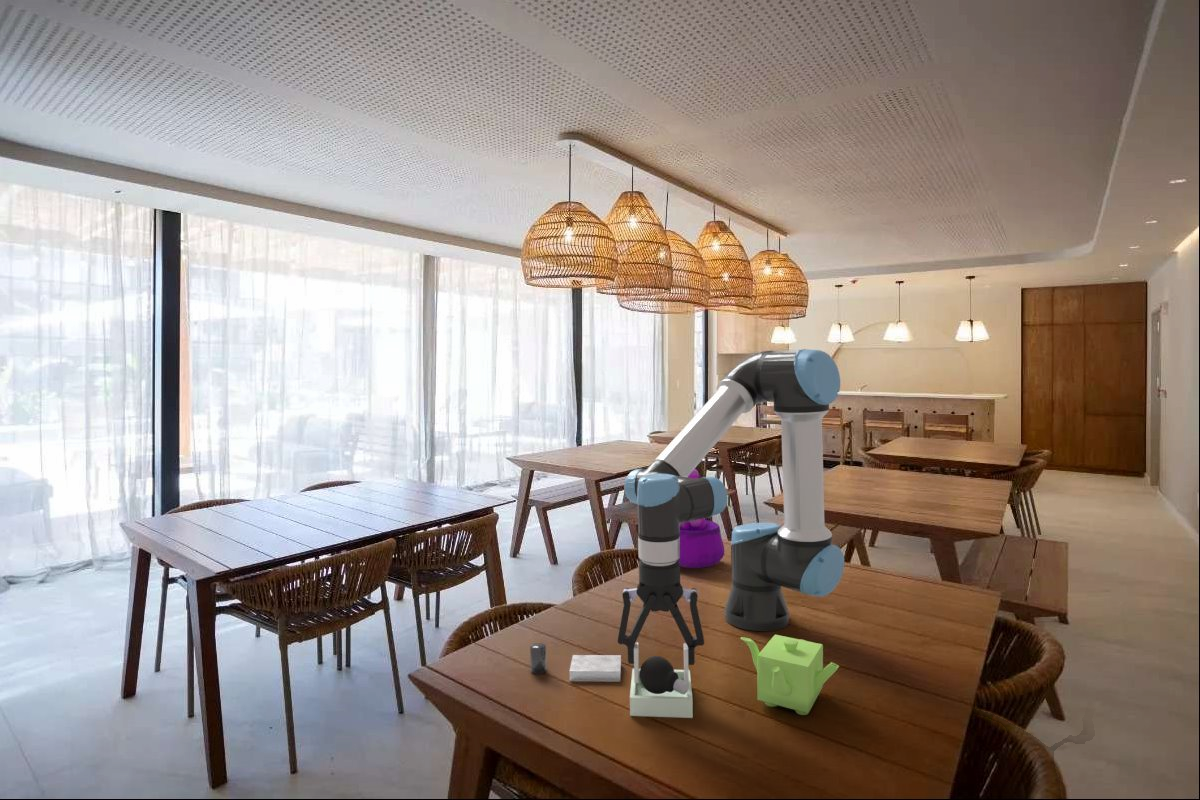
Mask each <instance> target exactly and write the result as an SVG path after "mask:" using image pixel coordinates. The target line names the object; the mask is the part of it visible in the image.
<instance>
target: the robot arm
mask: <svg viewBox="0 0 1200 800" xmlns="http://www.w3.org/2000/svg"><path fill="white" fill-rule="evenodd" d="M840 389H841V375H840V371H839V368H838V365H837V363H836V361H835V360H834V359H833V358H832V356H830V354H829V353H827V352H826V351H823V350H820V349H808V348H803V349H789V350H786V349H785V350H763V351H760V352H757V353H754V354H752V355H750V356H749V357H747V358H745V359H744V360H742V361H741V362H740V363H738V364H736V366H734V367H733V368H731V370H730V371H728V372H727V373H726V374H725V375H724V376H723V378H721V380H719V382H718V383H717V385H716V391H715V393H714V394H713V395H712V396H711V397H710V398H709V399H708V400H707V401H706V403H704V405H702V407H701V408H700V409H699V410H698V411H697V413H695V414H694V416H693V417H692V418H691V419H690V420H689V421H688V423H686V425H684V427H683V428H682V429H681V431H679V433H677V435H676V436H675V437H674V438H673V439H672V440H671V441H670V442H669V443H668V445H667V446H666V447H665V448H664V449H663V450H662V451H661V452H660V453H659V455H658V456H657V457H656V458H655V459H654V460H653V461H652V463H650V464H649V466H648V467H646V468H637V469H634V470H632V471H630V472H629V474H627V476H626V478H625V481H624V487H623V488H624V489H623V490H624V493H625V497H626V498H627V499H628V501H629V502H631V503H632V504H635V505H637V506H636V507H637V528H638V529H637V531H638V532H637V533H638V537H637V541H638V542H637V545H638V547H637V548H638V558H639V561H638V584H637V587H635V588H629V587H624V588H623V591H622V601H623V608H622V614H621V620H620V624H619V630H618V637H617V643H618V645H625V647H627V662H628V665H629V664H630V665H631V664H632V665H633V669H634V683H639V669H640V661H639V660H640V658H639V657H640V656H639V655H640V654H639V653H640V652H639V642H637V640H638V637H639V636H640V633H641V632H642V630H643V627H644V624H645V622H646V620H647V619H648V617H649V615H650V612H659V611H661V612H664V613H665V612H670V614H671V617H672V618H673V620H674V621H675V623H676V625H677V627H678V629H679V632H680V634H681V635H682V637H683V639H684V641H685V642H684V643H683V670H684V681H685V682H687V683H688V685H689V671H688V670H689V666H694V664H695V662H696V659H695V649H696V647H699V646H704V645H705V637H704V632H703V627H702V623H701V619H700V614H699V610H698V606H697V605H698V595H699V594H698V589H697V588H695V587H692V588H691V589H689V588H683V586H682V584H681V566H680V562H679V561H678V559H679V558H680V537H679V536H680V533H679V531H680V523H685V522H689V521H693V520H698V519H703V518H705V519H710V518H711V517H714V516H716V515H717V516H718V515H719V514H721V513H723V512H724V511H725V509H726V508H727V504H728V491H727V488H726V487H725V485H724V483H723V482H722V481H721V480H720V479H719V478H717V477H714V476H701V477H698V479H693V478H687V477H688V476H689V474H690V473H691V472H692V471H693V470H694V469H696V468H697V466H698V465H699V464H700V463H701V462H702V461H703V459H704V458H705V457H706V456H707V454H708V453H709V452H710V451H711V450H712V449H713V448H714V447H715V445H716V444H717V443H718V442H719V441H720V439H722V437H723V436H724V435H725V434H726V433H727V431H728V430H729V429H730V428H731V426H733V425H734V423H736V421H737V420H738V419H739V417H740V416H741V415H742V414H746V413H749V412H751V411H752V409H753V408H754V407H755V406H756V405H758V404H759V405H760V404H761V403H766V402H769V403H773V412H774V414H775V415H776V416H778V418H779V419H780V422H781V423H780V424H781V425H780V426H781V429H780V431H781V457H782V458H781V460H782V463H781V464H782V489H783V490H782V492H783V493H782V494H783V498H782V499H783V522H784V523H783V525H782V526H781V525H780V524H778V523H775V522H754V523H753V522H751V523H745V524H740V525H737V526H735V527H734V528H733V529H732V531H731V542H730V553H731V554H730V555H731V557H730V559H731V561H730V562H731V565H730V567H731V587H730V590H729V593H728V595H727V596H728V597H727V599H726V603H725V605H724V620H726V621H727V623H729V624H730V625H732V626H733V627H737V628H739V629H742V630H747V631H753V632H754V631H755V632H771V631H773V632H774V631H777V630H782V629H784V628H785V627H787V626H788V625H789V623H790V612H789V609H788V605H787V603H786V599H785V597H784V594H783V591H782V587H783V588H786V589H789V590H792V591H796V592H798V593H801V594H803V595H805V596H807V595H810V596H814V597H817V598H819V597H820V598H821V597H823V598H824V597H825V596H828V595H830V594H831V593H832V592H833V591H834V590H835V589H836V587H837V586H838V584H839V582H840V581H841V578H842V576H843V573H844V568H845V555H844V553H843V550H842V549H841V548H840V547H839V546H837V545H836V544H833V534H832V532H831V530H830V529H829V528H828V527H826V525H825V497H824V496H825V495H824V492H825V491H824V455H823V453H824V449H823V448H824V447H823V446H824V445H823V418H824V416H826V415H827V414H828V413H829V412H830V404H833V403H834V402H835V401H836V400H837V398H838V396H839V393H840ZM636 596H638V598H639V599H640V600H641V602H642V603H643V604H642V606H641V609H640V611H639V614H638V616H637V618H636V620H635V622H634V625H633V627H632V629H631V631H630V633H629V635H626V633H627V628H628V622H629V616H630V610H631V604H632V602H634V601H635V597H636ZM682 597H684V598H685V601H686V602H687V603H689V609H690V612H691V617H692V619H691V620H692V623H693V628H694V632H695V636H693V635H692V633H691V631H690V629H689V627H688V625H687V622H686V621H685V619H684V617H683V614H682V613H681V610H680V609H679V606H678V604H677V603H678V602H679V601H680V600H681V598H682Z"/></svg>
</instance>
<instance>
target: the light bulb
mask: <svg viewBox="0 0 1200 800" xmlns="http://www.w3.org/2000/svg"><path fill="white" fill-rule="evenodd" d="M639 669H640V680H641V683H642V685H643V686H644V688H645V689H646V690H647V691H649V692H651V693H654V694H662V693H665V692H666V691H667V692H672V691H673V690H674V691H677V692H679V693H681V694H686V693H687V691H688V687H689V685H688V683H687V682H685V681H683V680H680V679H679V678H678V674H677V673H675V672H674V670H675V669H674V667H673V665H672V663H671V662H670V661H669V660H668V659H666V658H665V657H663V656H657V655H654V656H651V657H648V658H646V660H644V661H643V662H642V665H641V666H640V668H639Z"/></svg>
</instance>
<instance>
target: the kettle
mask: <svg viewBox="0 0 1200 800" xmlns="http://www.w3.org/2000/svg"><path fill="white" fill-rule="evenodd" d="M740 640H741V641H743V642H744V643H745V644H746V645H747V647H748V648H749V650H750V653H751V657H752V661H753V665H754V667H755V669H756V673H757V675H756V676H757V678H756V681H757V682H756V683H757V684H756V686H757V687H756V688H757V689H756V690H757V693H756V694H757V695H756V697H757V698H756V699H757V701H761V702H764V704H765V705H766V706H767V707H772V708H774V707H778V706H779V707H782V708H786V709H790V710H794V711H795V713H796V714H798V715H800V716H806V715H808V714H809V713H810V711H811V709H813V708H812V707H813V706H814V705H815V702H816V700H817V698H818V696H819V695H820V693H821V692H822V689H823V687H824V684H825V682H827V681H828V680H829V679H830V678H831V677H832V676H833V674H835V672H836V671H837V670H838V668H839V667H840V665H839V664H836V663H835V662H833V661H831V662H830V663H828V664H827V665H826V666H825V667H824V650H823V649H824V645H823V643H816V642H813V641H808V640H805V639H799V638H794V637H789V636H783V635H778V634H774V635H773V636H772V637H771V638H770V639H769V641H768V642H767V644H766V645H765V646H764V647H763V648H762V649H761V651H760V650H759V647H758V645H757V643H756V642H755V641H754V640H753V639H751V638H749V637H744V636H743V637H740Z"/></svg>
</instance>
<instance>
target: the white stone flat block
mask: <svg viewBox="0 0 1200 800" xmlns="http://www.w3.org/2000/svg"><path fill="white" fill-rule="evenodd" d="M621 675H622V655H621V654H620V655H619V654H618V655H617V654H615V655H613V654H611V655H610V654H607V655H606V654H599V655H598V654H572V657H571V661H570V666H569V682H608V683H611V682H613V683H614V682H619V683H620V682H621V679H622V678H621Z"/></svg>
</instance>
